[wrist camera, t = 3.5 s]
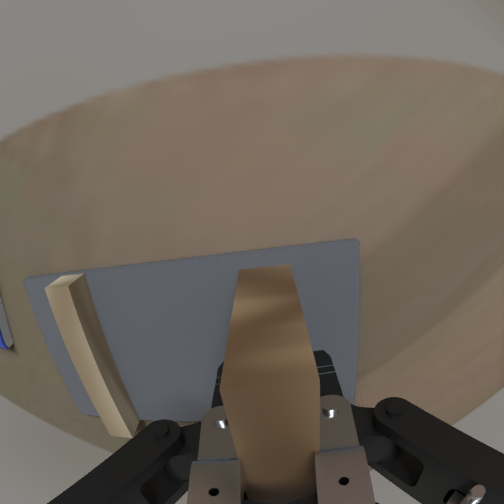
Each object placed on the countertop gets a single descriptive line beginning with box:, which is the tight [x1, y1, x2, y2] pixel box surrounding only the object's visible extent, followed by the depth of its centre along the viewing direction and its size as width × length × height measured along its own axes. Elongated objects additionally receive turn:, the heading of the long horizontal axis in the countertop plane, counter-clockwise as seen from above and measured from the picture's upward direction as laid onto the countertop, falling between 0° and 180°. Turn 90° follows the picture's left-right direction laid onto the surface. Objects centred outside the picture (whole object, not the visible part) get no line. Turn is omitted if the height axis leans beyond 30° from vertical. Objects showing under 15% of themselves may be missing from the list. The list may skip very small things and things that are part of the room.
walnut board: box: [219, 264, 320, 504], centre depth 10 cm, size 2×8×7 cm, turn 7°
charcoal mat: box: [23, 238, 360, 421], centre depth 14 cm, size 16×9×1 cm, turn 97°
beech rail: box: [45, 273, 140, 438], centre depth 13 cm, size 1×9×2 cm, turn 7°
